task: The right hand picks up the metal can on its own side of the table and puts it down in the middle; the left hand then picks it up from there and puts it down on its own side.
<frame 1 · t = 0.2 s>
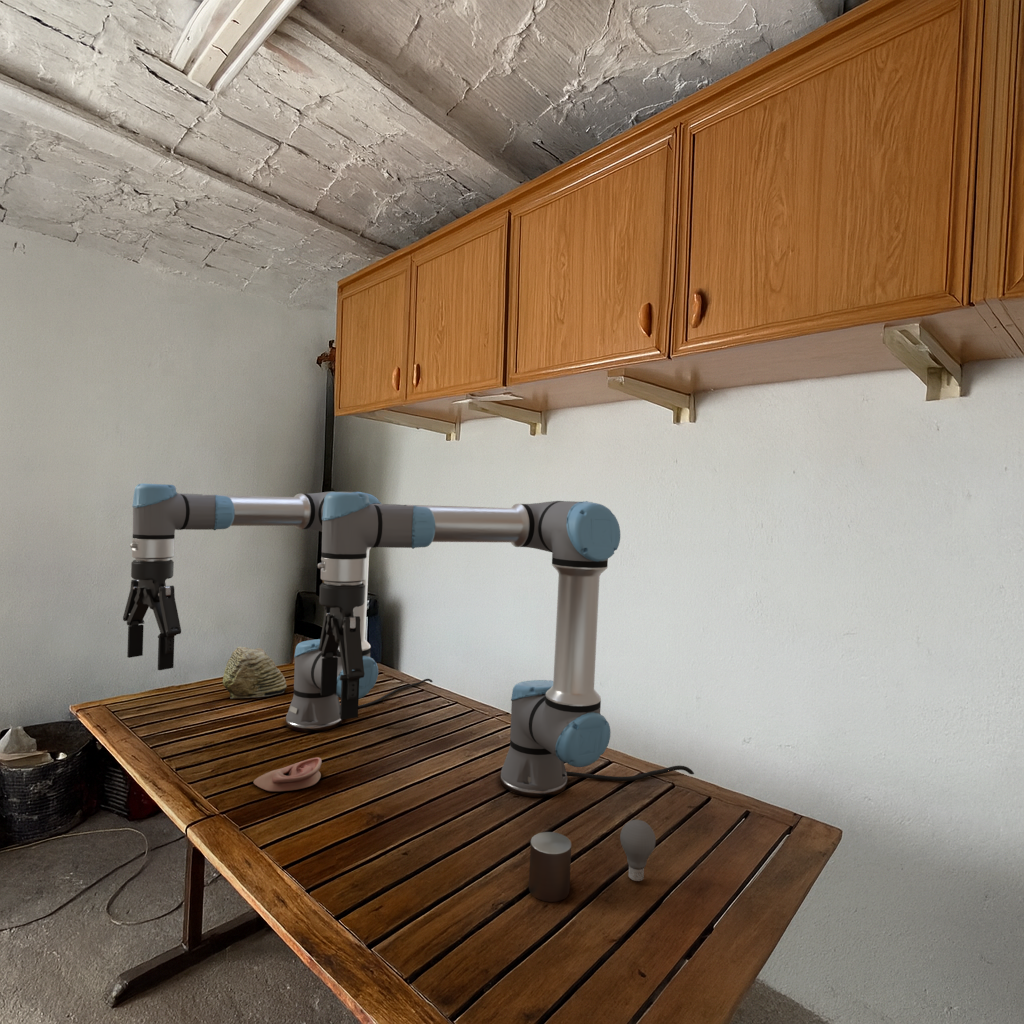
left hand: (149, 662, 130), 28 cm above the table, tool pointing down, fingers open, 13 cm apart
right hand: (338, 705, 109), 28 cm above the table, tool pointing down, fingers open, 13 cm apart
fossil: (254, 694, 198), on the table
light bulb: (635, 880, 109), on the table
anatomical model: (287, 781, 140), on the table
can: (548, 889, 105), on the table
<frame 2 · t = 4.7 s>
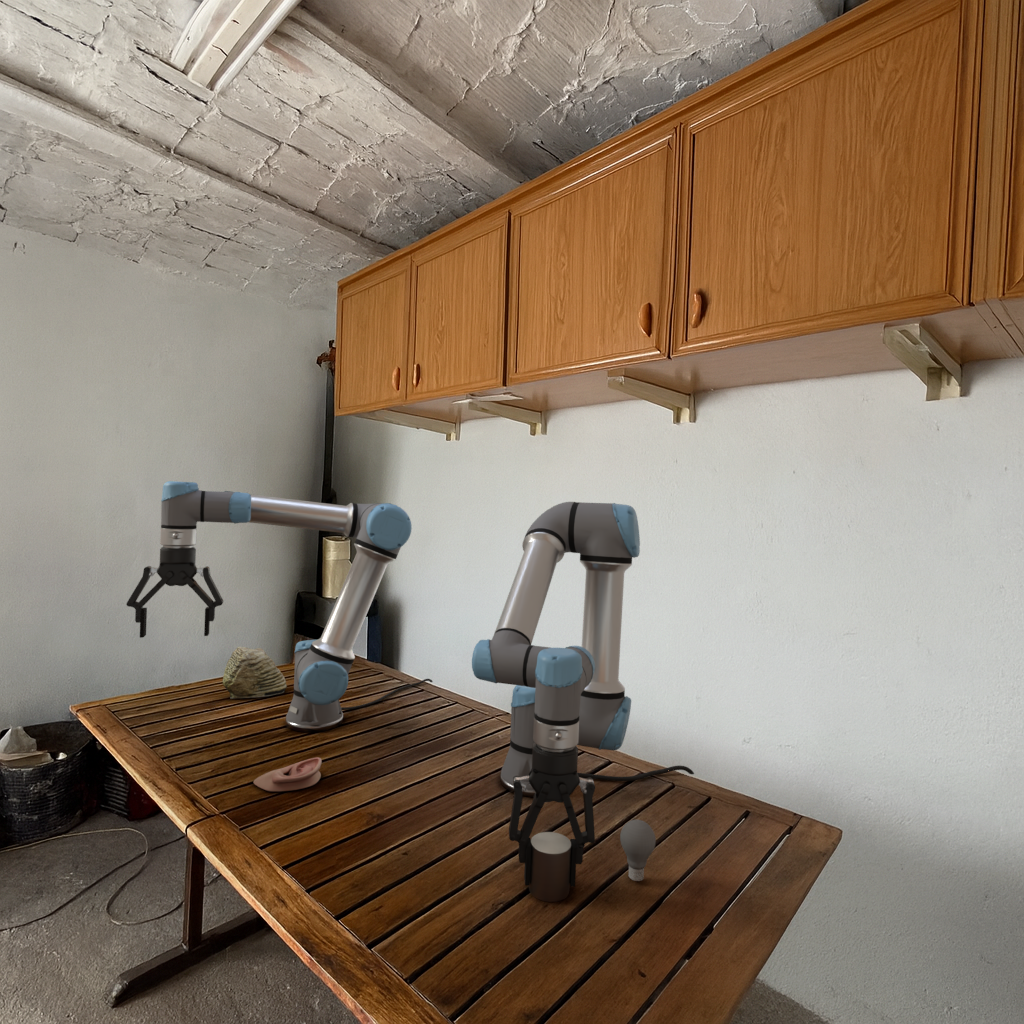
left hand: (175, 635, 150), 29 cm above the table, tool pointing down, fingers open, 13 cm apart
right hand: (549, 880, 105), 1 cm above the table, tool pointing down, fingers closed on can, 7 cm apart
can: (548, 889, 105), on the table, touching right hand
everything else where it was.
when the right hand's fingers open (3 cm above the table, at t = 12.7 s): can drops 1 cm, on the table.
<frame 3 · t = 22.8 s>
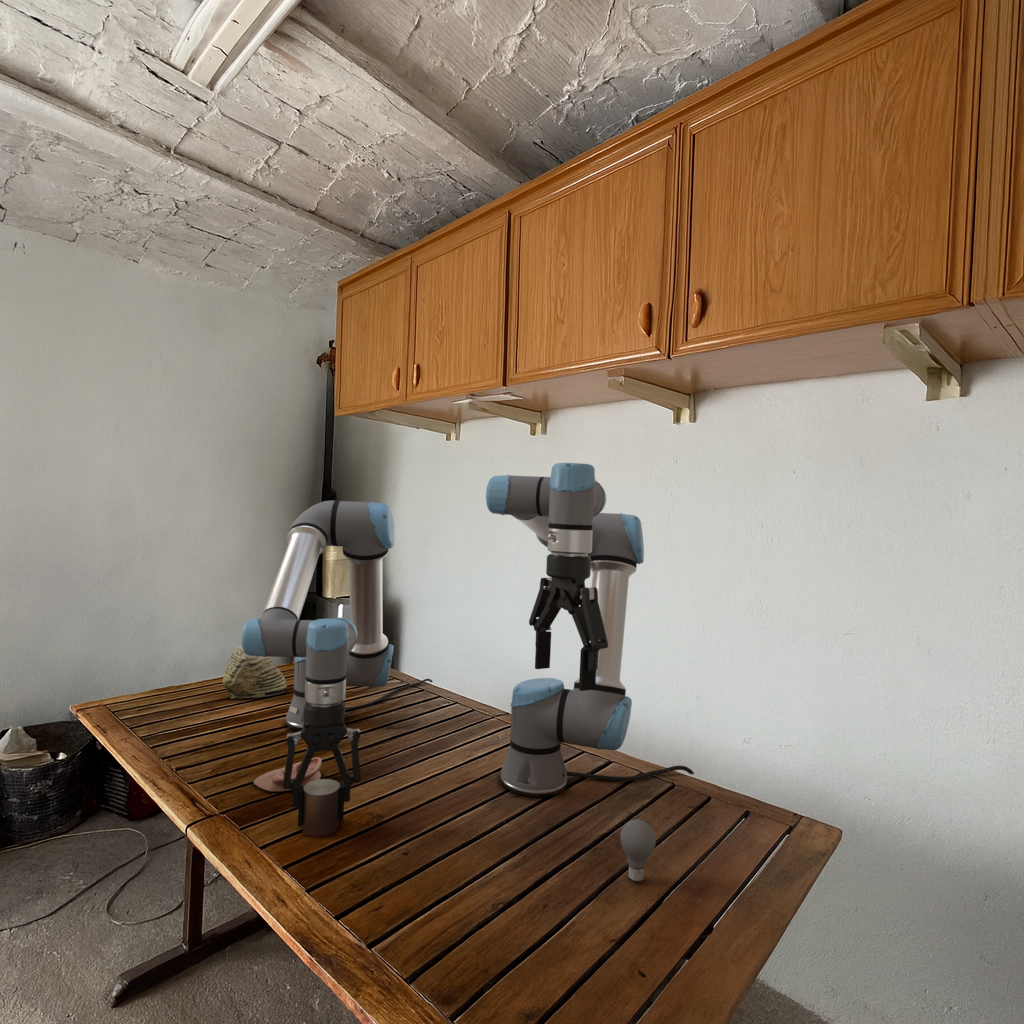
left hand: (320, 820, 122), 1 cm above the table, tool pointing down, fingers closed on can, 7 cm apart
right hand: (563, 678, 108), 34 cm above the table, tool pointing down, fingers open, 13 cm apart
can: (320, 827, 122), on the table, touching left hand
everything else where it was.
when the left hand's fingers open (3 cm above the table, at t = 33.5 s): can drops 2 cm, on the table.
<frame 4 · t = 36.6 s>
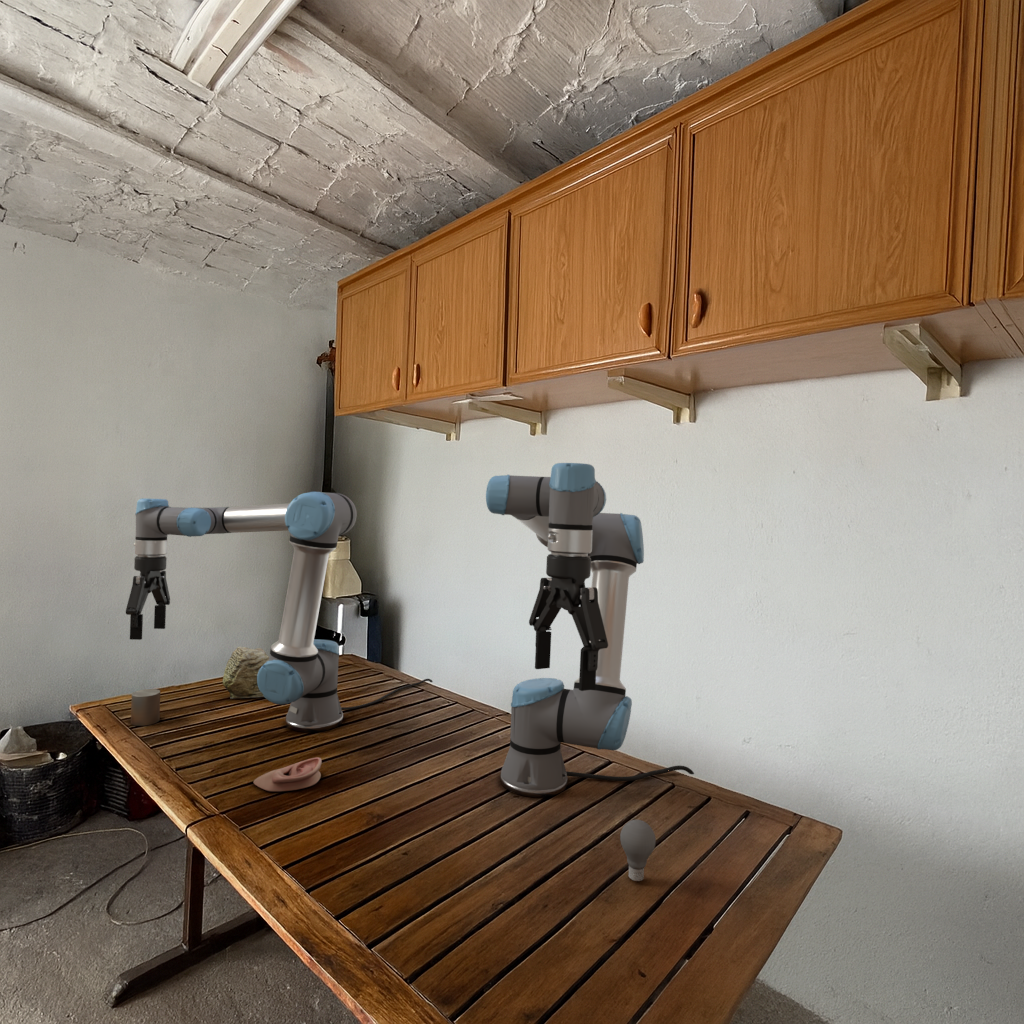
left hand: (148, 633, 172), 24 cm above the table, tool pointing down, fingers open, 13 cm apart
right hand: (563, 678, 108), 34 cm above the table, tool pointing down, fingers open, 13 cm apart
can: (145, 721, 172), on the table
everything else where it was.
at the end: can inside the target area (0.0 cm from its centre), on the table; can tilted 0°; the two hands never held the can at the same time; the left hand is holding nothing; the right hand is holding nothing; can at rest at the end (0.0 cm/s) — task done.
